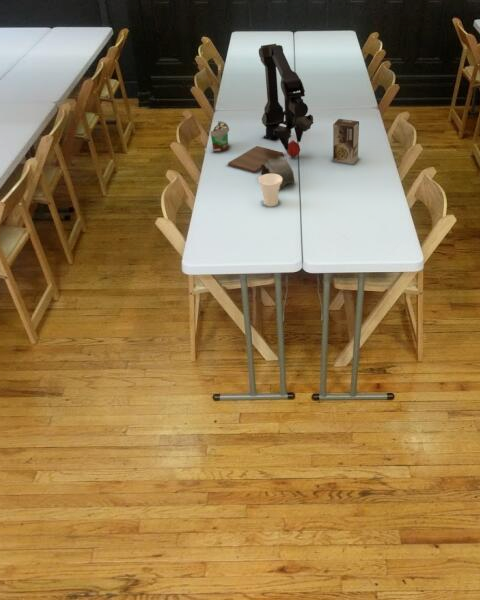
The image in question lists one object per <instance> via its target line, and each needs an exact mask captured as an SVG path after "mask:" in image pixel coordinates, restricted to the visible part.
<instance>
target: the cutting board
mask: <svg viewBox="0 0 480 600" xmlns="http://www.w3.org/2000/svg"><path fill="white" fill-rule="evenodd" d="M277 156H283V157H284V152H283V151H279V150H274V149H271V148H266V147H263V146H259V145H256V146H254V147H252V148H251V149H249V150H247V151H246V152H244V153H242V154H241V155H239V156H238V157H236V158H234V159H232V160H230V161H229V162H228V163H227V165H228V167H232V168H236V169H239V170H241V171H242V170H243V171H246V172H249V173H253V174H257V173H258V172H261V165H262V164H264V163H266V160H267V159H273V158H276V157H277Z"/></svg>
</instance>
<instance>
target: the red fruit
mask: <svg viewBox="0 0 480 600" xmlns="http://www.w3.org/2000/svg"><path fill="white" fill-rule="evenodd" d="M285 152H286V154H287V155H288V156H289V157H291V158H292V159H295V158H296V157H297V156H298V155H299V154H300V152H301V147H300V144H299V142H297V141H296V140H294V139H291V140H290V141H289V145H288V150H285Z"/></svg>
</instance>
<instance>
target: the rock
mask: <svg viewBox="0 0 480 600" xmlns="http://www.w3.org/2000/svg"><path fill="white" fill-rule="evenodd" d="M260 174H261V175H264V174H278V175H280V176H281V177H282V183H281V184H280V188H279V190H281V189H282V188H283V187H286V185H287V184H295V175H294V171H293V169H292V167H291V165H290V163H289V162H288V160H287V158H286V157H285V156H284V155H283V156H277V157H276V158H273V159H267V160H266V163H264V164H262V165H261V170H260Z"/></svg>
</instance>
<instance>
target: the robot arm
mask: <svg viewBox="0 0 480 600" xmlns="http://www.w3.org/2000/svg"><path fill="white" fill-rule="evenodd" d="M258 57H259V58H260V62H261V63H262V65H263V66H264V72H265V73H264V74H265V86H266V98H267V99H266V100H267V101H266V104H265V106H264V113H263V114H262V117H261V123H262V125H263V126H264V127H265V135H264V136H263V138H264V139H268V140H271V141H277V140H279V141H280V143H281V144H282V146H283V148H284V150H285V151H286V150H288V145H289V143H290V138H291V137H292V130H294V132H295V137H296V138H295V139H296V142H297V143H301V141H302V138H303V134H304V132H307V131H308V130H310V129H311V127H312V125H314V116H313V115H312V114H308V112H309V107H308V105H307V104H306V103H305V102H304V99H303V98H304V97H305V96H306V94H305V92H306V89H305V87H304V84H303V82H302V79H301V78H300V76H299V74H298V73H297V72H295V71H293V70H292V68H291V65H290V63H289V61H288V59H287V57H286V55H285V53H284V47H283V45H281V44H277V43H270V44H263V45H261V46H260V47H259V48H258ZM277 71H278V73H277ZM278 74H279V76H280V78H281V79H280V89H281V92H282V94H283V97H284V98H283V99H284V107H283V106H282V105H281V103H280V102H279V90H278V89H279V88H278V76H277V75H278ZM302 97H303V98H302ZM307 114H308V115H307ZM283 125H284V126H283Z"/></svg>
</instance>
